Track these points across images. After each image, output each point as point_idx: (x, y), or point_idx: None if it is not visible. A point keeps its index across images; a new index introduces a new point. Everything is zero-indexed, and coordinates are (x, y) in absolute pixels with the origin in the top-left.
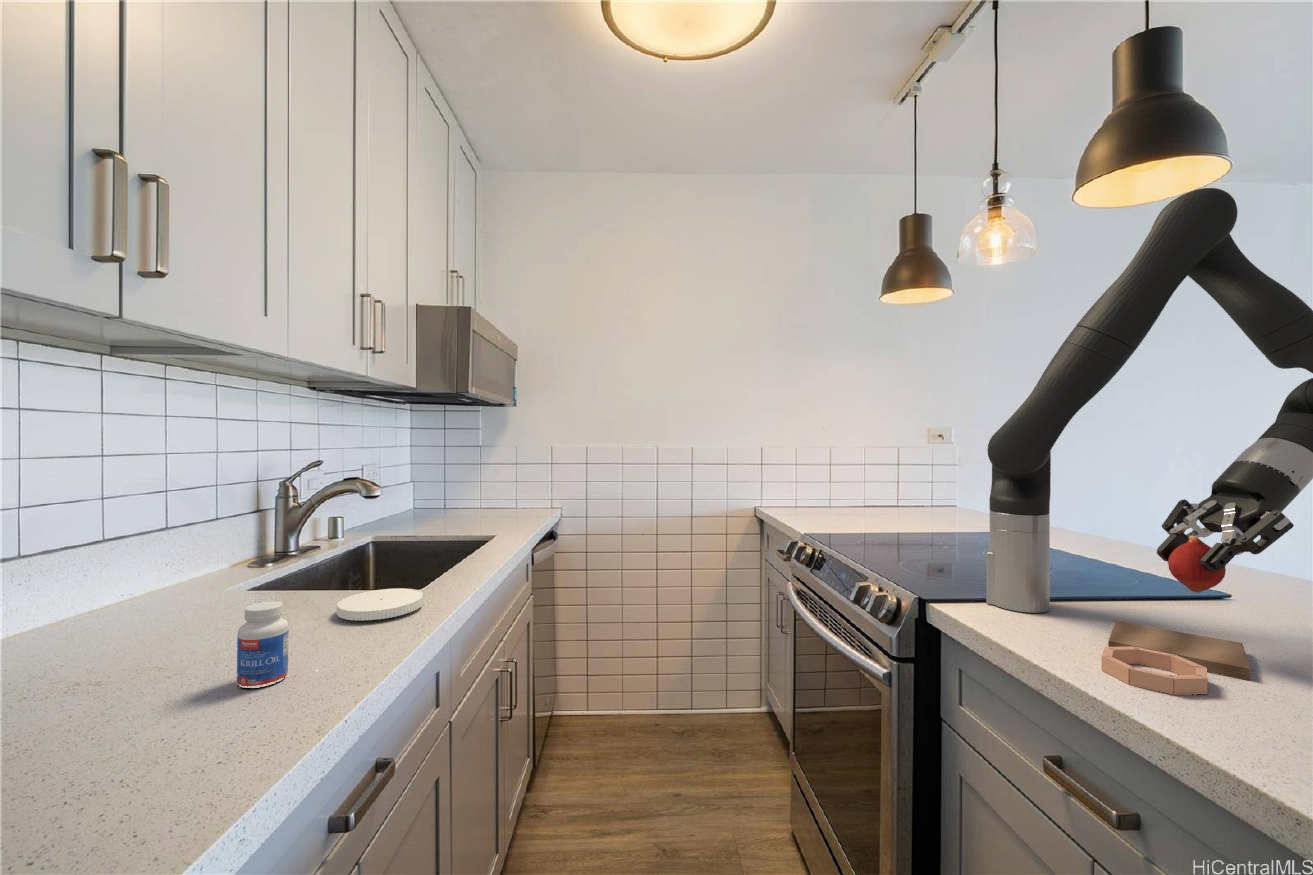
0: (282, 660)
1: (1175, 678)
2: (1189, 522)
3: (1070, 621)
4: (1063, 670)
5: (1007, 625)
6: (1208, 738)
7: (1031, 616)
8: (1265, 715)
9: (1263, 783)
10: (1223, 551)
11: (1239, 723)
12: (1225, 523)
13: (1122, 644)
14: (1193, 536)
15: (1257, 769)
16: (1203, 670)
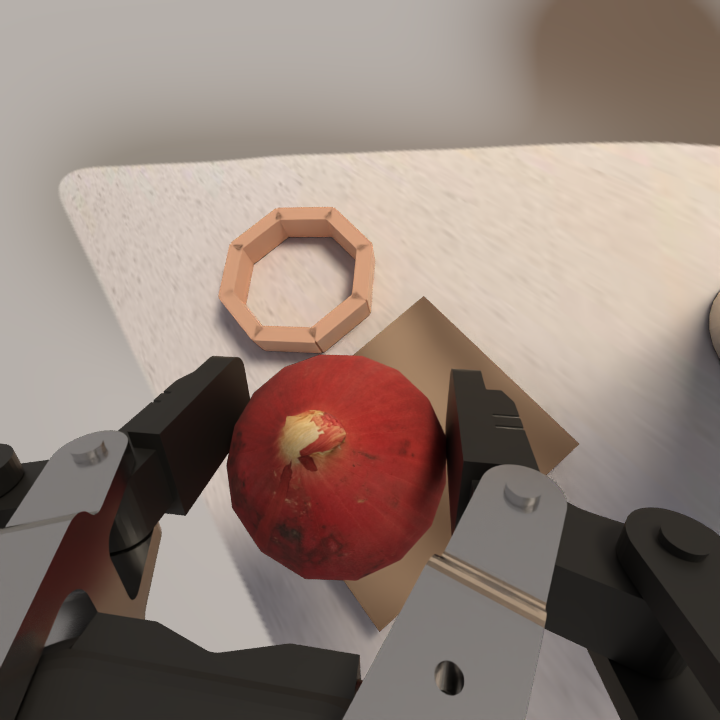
0: None
1: (230, 247)
2: (430, 563)
3: (640, 381)
4: (349, 171)
5: (593, 211)
6: (148, 201)
7: (679, 308)
8: (165, 328)
9: (80, 178)
10: (140, 418)
11: (161, 270)
12: (16, 550)
13: (405, 313)
14: (298, 421)
15: (95, 194)
16: (244, 322)
